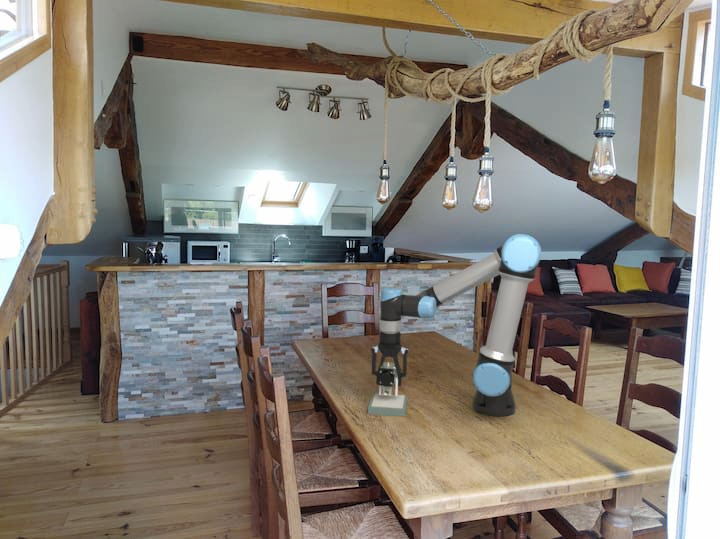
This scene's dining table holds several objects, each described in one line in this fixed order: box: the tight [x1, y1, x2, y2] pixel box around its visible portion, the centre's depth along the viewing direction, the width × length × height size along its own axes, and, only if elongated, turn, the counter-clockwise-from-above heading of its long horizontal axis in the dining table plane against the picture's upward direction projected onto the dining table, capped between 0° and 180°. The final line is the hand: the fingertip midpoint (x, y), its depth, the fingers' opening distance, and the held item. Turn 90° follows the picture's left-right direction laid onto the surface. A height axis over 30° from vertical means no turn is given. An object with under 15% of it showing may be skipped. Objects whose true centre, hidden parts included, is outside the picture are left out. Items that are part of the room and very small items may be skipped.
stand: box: [367, 392, 409, 418], centre depth 187 cm, size 13×15×3 cm
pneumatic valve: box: [378, 361, 398, 396], centre depth 186 cm, size 6×12×12 cm, turn 168°
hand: (388, 394), depth 187 cm, fingers closed on pneumatic valve, 5 cm apart
